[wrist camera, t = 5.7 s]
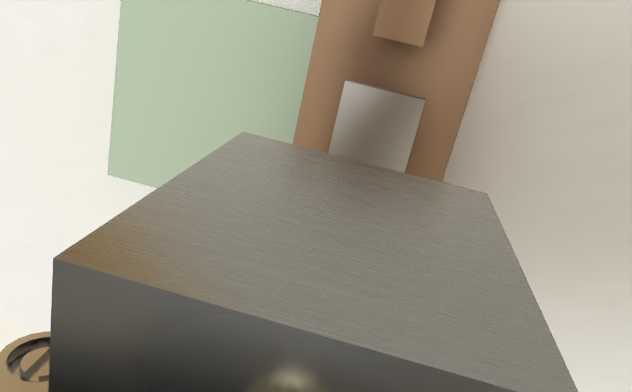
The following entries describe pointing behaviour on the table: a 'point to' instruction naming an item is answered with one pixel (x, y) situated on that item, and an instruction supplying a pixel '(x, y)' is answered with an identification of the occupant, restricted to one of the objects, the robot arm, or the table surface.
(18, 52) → the table surface
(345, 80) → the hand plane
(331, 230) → the lever cap
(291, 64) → the mat
